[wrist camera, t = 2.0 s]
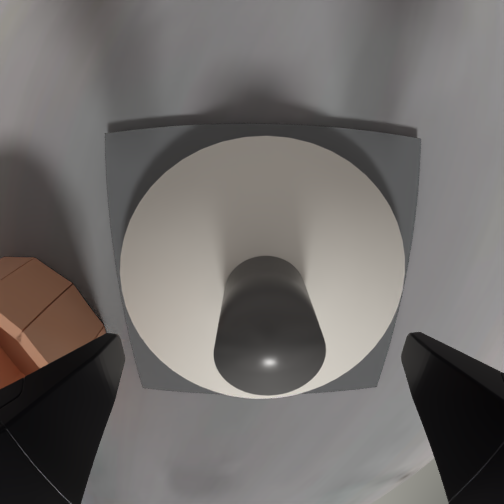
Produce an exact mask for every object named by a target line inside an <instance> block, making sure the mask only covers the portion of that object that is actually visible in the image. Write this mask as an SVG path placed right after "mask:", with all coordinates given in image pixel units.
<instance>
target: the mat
mask: <svg viewBox="0 0 504 504" xmlns="http://www.w3.org/2000/svg"><path fill="white" fill-rule="evenodd" d="M253 136H277V137H287V138H293V139H297V140H301V141H306V142H310V143H313V144H315V145H318V146H320V147H323V148H325V149H328V150H330V151H332V152H334V153H336V154H337V155H339V156H341V157H342V158H344V159H346V160H347V161H349V162H351V163H352V164H353V165H354V166H356V167H357V168H358V169H359V170H360V171H362V172H363V173H364V174H365V175H366V176H367V177H368V178H369V179H370V180H371V181H372V182H373V183H374V185H375V186H376V187H377V188H378V189H379V190H380V192H381V193H382V195H383V196H384V198H385V199H386V201H387V202H388V204H389V205H390V208H391V210H392V212H393V214H394V216H395V218H396V220H397V223H398V226H399V230H400V233H401V236H402V240H403V247H404V254H405V276H404V283H405V278H406V273H407V267H408V262H409V256H410V250H411V244H412V237H413V230H414V223H415V215H416V206H417V196H418V185H419V172H420V154H421V139H420V138H414V137H408V136H402V135H395V134H389V133H382V132H374V131H366V130H357V129H348V128H337V127H326V126H311V125H293V124H257V123H236V124H200V125H182V126H168V127H156V128H146V129H136V130H128V131H120V132H112V133H105V159H106V179H107V194H108V206H109V217H110V226H111V235H112V243H113V250H114V257H115V264H116V271H117V277H118V283H119V288H120V294H121V299H122V304H123V310H124V314H125V319H126V324H127V328H128V333H129V337H130V342H131V346H132V350H133V354H134V358H135V362H136V365H137V369H138V373H139V376H140V380H141V384H142V387H143V388H148V389H157V390H166V391H177V392H190V393H206V394H221V393H218V392H214V391H211V390H209V389H206V388H203V387H201V386H199V385H197V384H195V383H193V382H191V381H189V380H187V379H185V378H183V377H182V376H180V375H179V374H177V373H176V372H174V371H173V370H172V369H170V368H169V367H168V366H167V365H165V364H164V363H163V362H162V361H161V360H160V359H159V358H158V357H157V356H156V355H155V354H154V353H153V352H152V351H151V350H150V349H149V347H148V346H147V345H146V344H145V342H144V341H143V339H142V338H141V337H140V335H139V333H138V332H137V330H136V328H135V326H134V325H133V323H132V321H131V318H130V316H129V313H128V311H127V308H126V305H125V301H124V297H123V293H122V288H121V279H120V258H121V251H122V245H123V240H124V236H125V233H126V230H127V227H128V225H129V222H130V219H131V217H132V215H133V214H134V212H135V210H136V208H137V206H138V204H139V202H140V201H141V200H142V198H143V197H144V195H145V194H146V193H147V191H148V190H149V189H150V187H151V186H152V185H153V184H154V183H155V182H156V181H157V180H158V179H159V178H160V177H161V176H162V175H163V174H164V173H165V172H166V171H168V170H169V169H170V168H172V167H173V166H174V165H176V164H177V163H178V162H180V161H181V160H182V159H184V158H186V157H188V156H190V155H192V154H193V153H195V152H197V151H199V150H201V149H203V148H206V147H209V146H212V145H214V144H217V143H220V142H223V141H227V140H232V139H237V138H242V137H253ZM404 283H403V288H404ZM402 293H403V290H402ZM401 297H402V294H401ZM400 302H401V298H400V301H399V304H398V307H397V310H396V312H395V315H394V317H393V319H392V321H391V323H390V325H389V327H388V328H387V330H386V332H385V333H384V335H383V336H382V338H381V339H380V340H379V342H378V343H377V344H376V346H375V347H374V348H373V349H372V350H371V351H370V352H369V353H368V354H367V355H366V357H365V358H364V359H363V360H361V361H360V362H359V363H358V364H357V365H355V366H354V367H353V368H352V369H350V370H349V371H347V372H346V373H344V374H343V375H341V376H340V377H338V378H337V379H335V380H333V381H331V382H329V383H327V384H325V385H323V386H320V387H318V388H315V389H313V390H310V391H307V392H303V393H300V394H306V393H322V392H334V391H345V390H355V389H363V388H371V387H377V384H378V381H379V378H380V375H381V372H382V368H383V365H384V362H385V359H386V355H387V352H388V348H389V345H390V341H391V338H392V334H393V330H394V326H395V322H396V318H397V314H398V310H399V306H400Z"/></svg>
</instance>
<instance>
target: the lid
mask: <svg viewBox="0 0 504 504" xmlns="http://www.w3.org/2000/svg"><path fill="white" fill-rule="evenodd" d="M404 276H405V254H404V247H403V240H402V236H401V233H400V230H399V226H398V223H397V220H396V218H395V216H394V214H393V212H392V210H391V208H390V205H389V204H388V202H387V201H386V199H385V198H384V196H383V195H382V193H381V192H380V190H379V189H378V188H377V187H376V186H375V185H374V183H373V182H372V181H371V180H370V179H369V178H368V177H367V176H366V175H365V174H364V173H363V172H362V171H360V170H359V169H358V168H357V167H356V166H354V165H353V164H352V163H351V162H349V161H347V160H346V159H344V158H342V157H341V156H339V155H337V154H336V153H334V152H332V151H330V150H328V149H325V148H323V147H320V146H318V145H315V144H313V143H310V142H306V141H301V140H297V139H293V138H287V137H277V136H253V137H242V138H237V139H232V140H227V141H223V142H220V143H217V144H214V145H212V146H209V147H206V148H203V149H201V150H199V151H197V152H195V153H193V154H192V155H190V156H188V157H186V158H184V159H182V160H181V161H180V162H178V163H177V164H176V165H174V166H173V167H172V168H170V169H169V170H168V171H166V172H165V173H164V174H163V175H162V176H161V177H160V178H159V179H158V180H157V181H156V182H155V183H154V184H153V185H152V186H151V187H150V189H149V190H148V191H147V193H146V194H145V195H144V197H143V198H142V200H141V201H140V202H139V204H138V206H137V208H136V210H135V212H134V214H133V215H132V217H131V219H130V222H129V225H128V227H127V230H126V233H125V236H124V240H123V245H122V251H121V258H120V279H121V288H122V293H123V297H124V301H125V305H126V308H127V311H128V313H129V316H130V318H131V321H132V323H133V325H134V326H135V328H136V330H137V332H138V333H139V335H140V337H141V338H142V339H143V341H144V342H145V344H146V345H147V346H148V347H149V349H150V350H151V351H152V352H153V353H154V354H155V355H156V356H157V357H158V358H159V359H160V360H161V361H162V362H163V363H164V364H165V365H167V366H168V367H169V368H170V369H172V370H173V371H174V372H176V373H177V374H179V375H180V376H182V377H183V378H185V379H187V380H189V381H191V382H193V383H195V384H197V385H199V386H201V387H203V388H206V389H209V390H211V391H214V392H218V393H221V394H225V395H229V396H235V397H242V398H256V399H266V398H279V397H286V396H292V395H296V394H300V393H303V392H307V391H310V390H313V389H315V388H318V387H320V386H323V385H325V384H327V383H329V382H331V381H333V380H335V379H337V378H338V377H340V376H341V375H343V374H344V373H346V372H347V371H349V370H350V369H352V368H353V367H354V366H355V365H357V364H358V363H359V362H360V361H361V360H363V359H364V358H365V357H366V355H367V354H368V353H369V352H370V351H371V350H372V349H373V348H374V347H375V346H376V344H377V343H378V342H379V340H380V339H381V338H382V336H383V335H384V333H385V332H386V330H387V328H388V327H389V325H390V323H391V321H392V319H393V317H394V315H395V312H396V310H397V307H398V304H399V301H400V298H401V294H402V290H403V283H404Z"/></svg>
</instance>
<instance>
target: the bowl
mask: <svg viewBox="0 0 504 504" xmlns="http://www.w3.org/2000/svg"><path fill="white" fill-rule="evenodd" d="M103 326H104V325H103V324H102V322H101V321H100V320H99V319H98V317H97V316H96V315H95V313H94V312H93V311H92V309H91V308H90V307H89V305H88V304H87V303H86V301H85V300H84V298H83V297H82V296H81V294H80V293H79V291H78V290H77V288H76V287H75V286H74V284H73V285H72V283H71V282H70V281H68V280H67V279H65V278H64V277H62V276H61V275H59V274H58V273H56V272H55V271H53V270H52V269H51V268H49V267H48V266H46V265H45V264H43V263H42V262H41V261H39V260H38V259H36V258H34V257H3V258H1V259H0V389H1V388H3V387H5V386H7V385H9V384H11V383H13V382H15V381H17V380H19V379H21V378H24V377H25V376H27V375H29V374H30V373H32V372H34V371H36V370H38V369H40V368H42V367H44V366H45V365H47V364H49V363H51V362H53V361H55V360H57V359H59V358H60V357H62V356H64V355H66V354H68V353H70V352H72V351H74V350H75V349H77V348H79V347H81V346H83V345H85V344H87V343H89V342H90V341H92V340H94V339H96V338H98V337H100V336H102V335H104V334H105V333H106V331H105V327H103Z"/></svg>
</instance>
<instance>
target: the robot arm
mask: <svg viewBox="0 0 504 504" xmlns="http://www.w3.org/2000/svg"><path fill="white" fill-rule="evenodd" d="M401 360H402V364H403V367H404V370H405V374H406V377H407V381H408V384H409V388H410V391H411V395H412V398H413V400H414V403H415V406H416V408H417V411H418V413H419V416H420V419H421V421H422V424H423V427H424V429H425V432H426V435H427V438H428V440H429V443H430V446H431V449H432V452H433V455H434V458H435V460H436V463H437V466H438V470H439V472H440V476H441V479H442V482H443V486H444V489H445V492H446V496H447V499H448V502H449V504H504V373H502V372H500V371H498V370H496V369H494V368H492V367H490V366H488V365H486V364H484V363H482V362H480V361H478V360H476V359H474V358H472V357H470V356H468V355H466V354H464V353H462V352H460V351H458V350H456V349H454V348H452V347H450V346H448V345H446V344H444V343H442V342H440V341H438V340H436V339H433V338H431V337H429V336H427V335H425V334H423V333H421V332H414V333H409V334H408V336H407V338H406V341H405V344H404V348H403V351H402V355H401ZM124 363H125V355H124V351H123V347H122V343H121V339H120V337H119V335H118V334H112V333H105V334H104V335H102V336H100V337H98V338H96V339H94V340H92V341H90V342H89V343H87V344H85V345H83V346H81V347H79V348H77V349H75V350H74V351H72V352H70V353H68V354H66V355H64V356H62V357H60V358H59V359H57V360H55V361H53V362H51V363H49V364H47V365H45V366H44V367H42V368H40V369H38V370H36V371H34V372H32V373H30V374H29V375H27V376H25V377H24V378H21V379H19V380H17V381H15V382H13V383H11V384H9V385H7V386H5V387H3V388H1V389H0V504H81V501H82V498H83V494H84V491H85V488H86V484H87V481H88V478H89V475H90V471H91V468H92V465H93V462H94V459H95V456H96V453H97V450H98V447H99V444H100V441H101V438H102V435H103V432H104V429H105V427H106V424H107V421H108V418H109V416H110V413H111V410H112V407H113V404H114V402H115V398H116V394H117V390H118V386H119V382H120V378H121V374H122V371H123V367H124Z"/></svg>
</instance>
